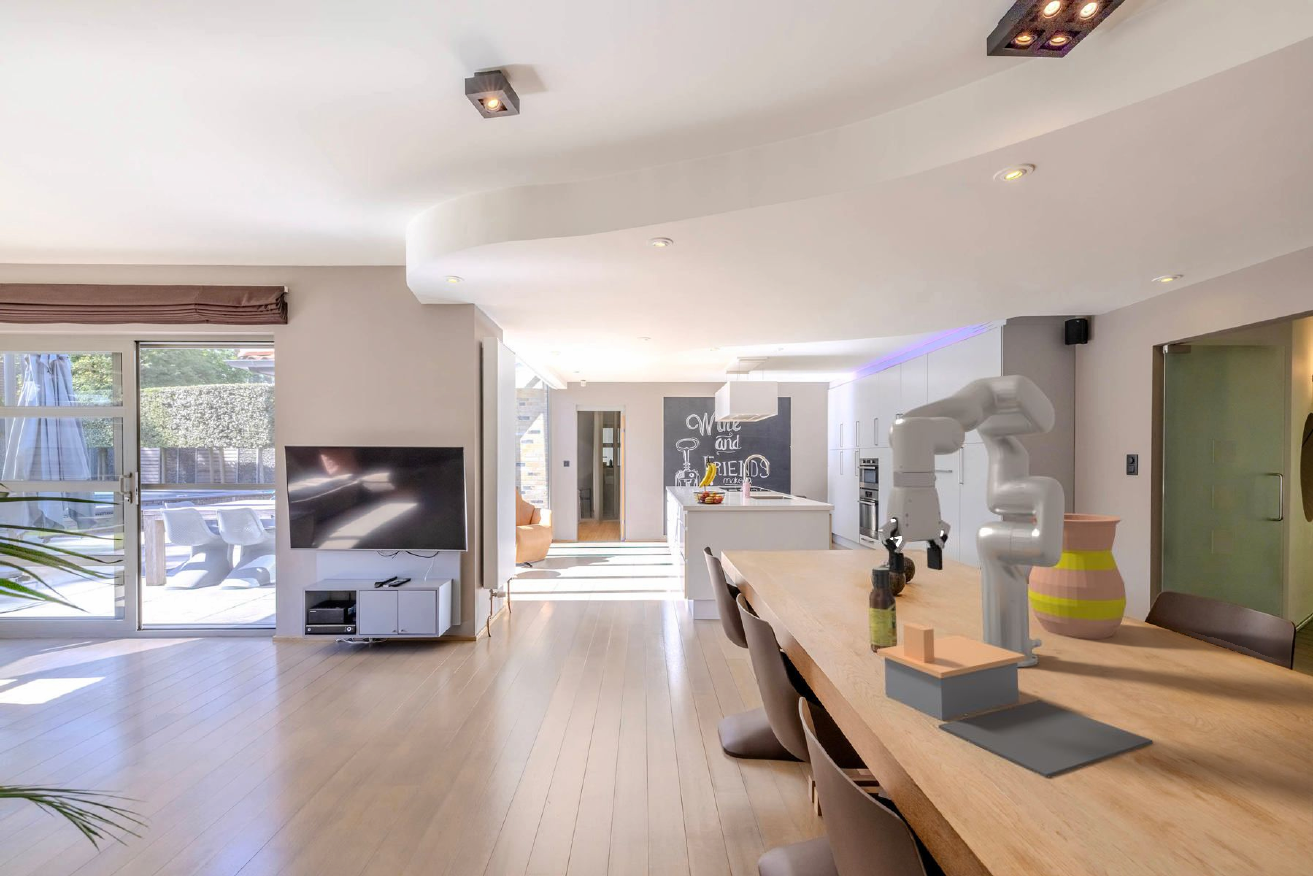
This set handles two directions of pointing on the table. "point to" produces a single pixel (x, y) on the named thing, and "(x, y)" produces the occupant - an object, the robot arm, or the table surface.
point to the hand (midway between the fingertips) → (916, 571)
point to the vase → (1081, 581)
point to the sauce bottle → (882, 611)
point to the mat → (1045, 737)
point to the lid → (946, 653)
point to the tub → (952, 689)
